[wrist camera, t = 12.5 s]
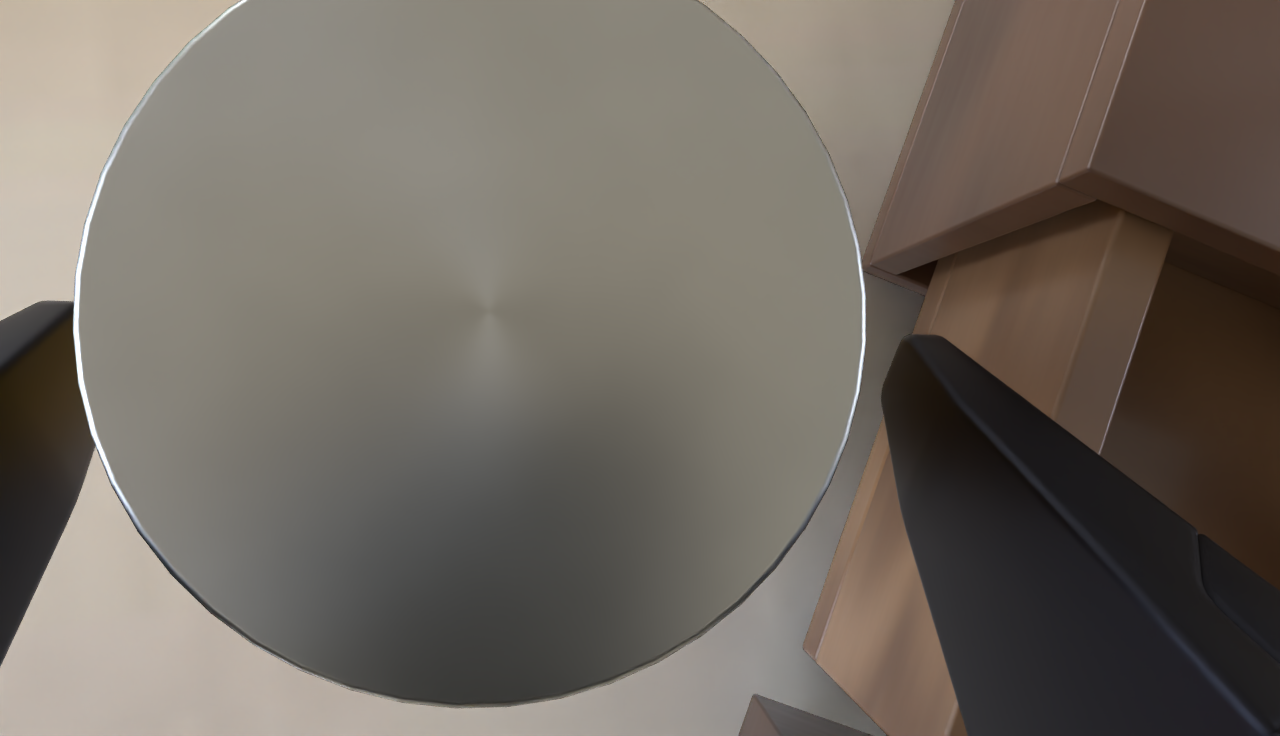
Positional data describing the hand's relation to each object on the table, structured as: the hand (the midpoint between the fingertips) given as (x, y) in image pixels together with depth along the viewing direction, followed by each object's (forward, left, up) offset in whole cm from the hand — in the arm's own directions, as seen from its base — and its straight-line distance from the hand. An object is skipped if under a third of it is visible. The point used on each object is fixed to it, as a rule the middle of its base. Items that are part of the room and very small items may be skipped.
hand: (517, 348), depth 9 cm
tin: (0, 0, -7) cm, 7 cm away
